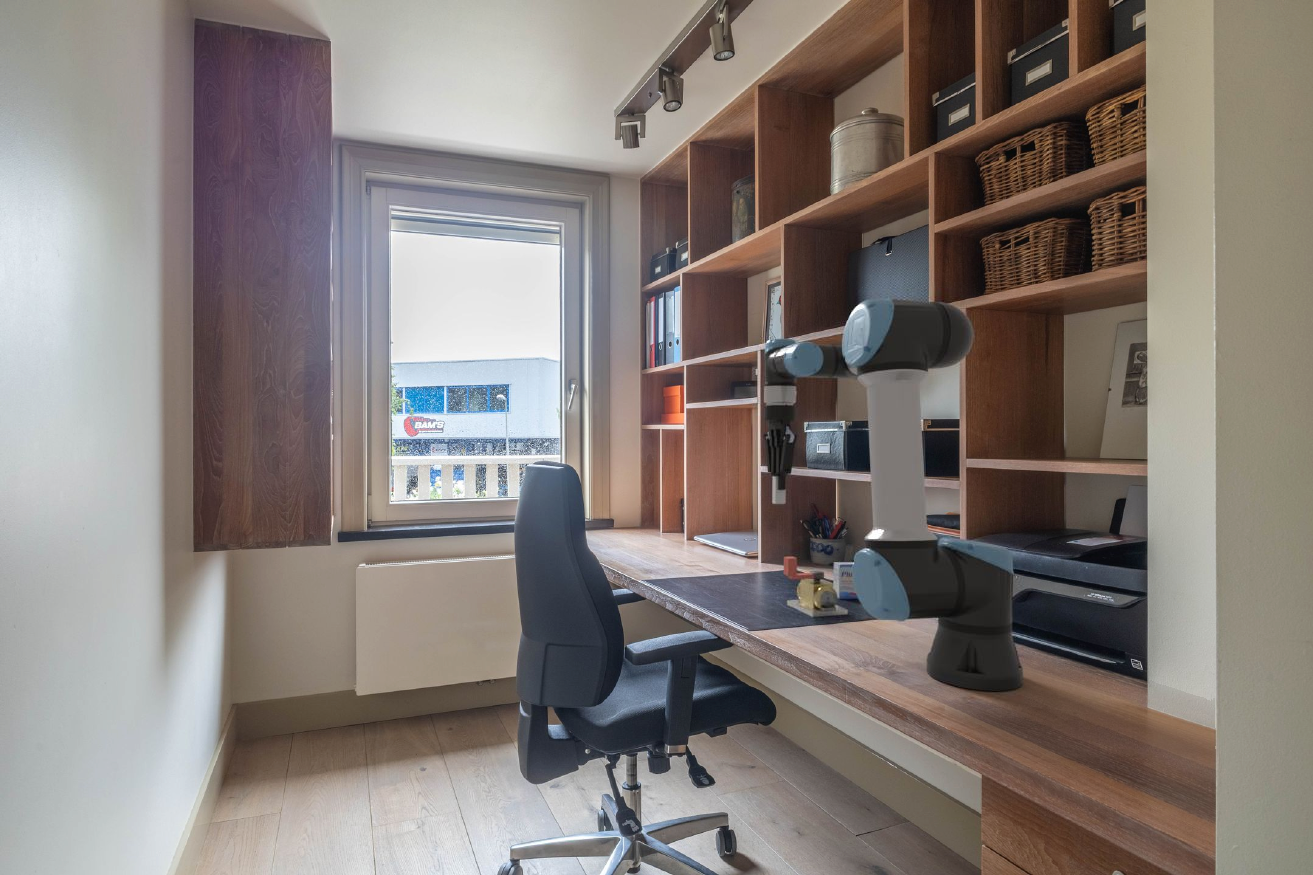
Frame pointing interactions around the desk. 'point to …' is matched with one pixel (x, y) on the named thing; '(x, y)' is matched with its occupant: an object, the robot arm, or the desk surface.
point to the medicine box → (844, 580)
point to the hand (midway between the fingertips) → (778, 503)
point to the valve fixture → (817, 598)
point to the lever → (791, 572)
